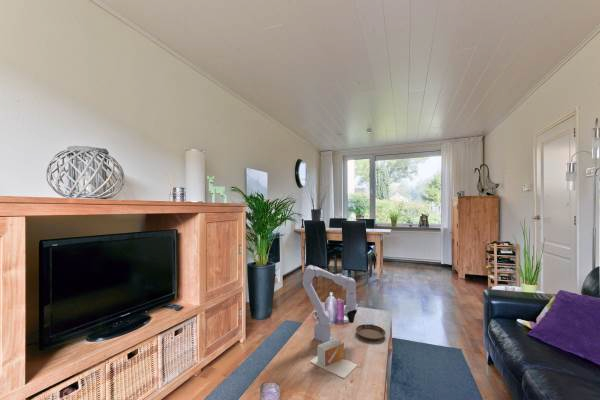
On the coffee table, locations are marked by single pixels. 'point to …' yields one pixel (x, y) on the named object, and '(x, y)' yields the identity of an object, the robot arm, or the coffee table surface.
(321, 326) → the robot arm
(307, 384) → the coffee table surface
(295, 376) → the coffee table surface
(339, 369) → the mat
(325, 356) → the small box
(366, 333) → the plant saucer
